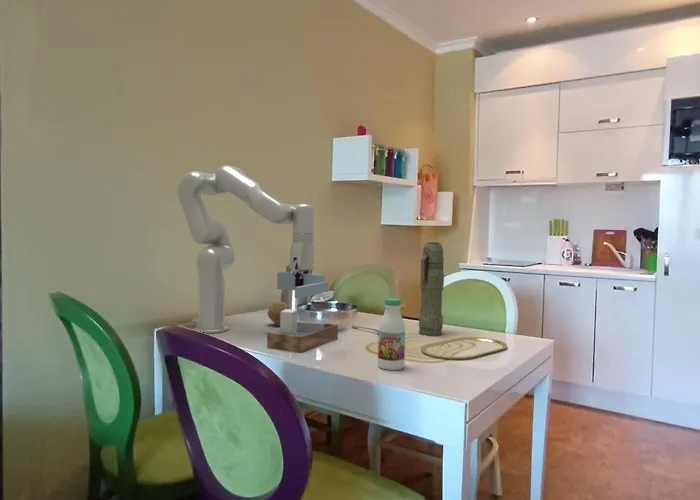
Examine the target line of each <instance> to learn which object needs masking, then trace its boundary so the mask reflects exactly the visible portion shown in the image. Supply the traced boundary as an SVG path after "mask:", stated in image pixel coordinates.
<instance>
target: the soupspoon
mask: <svg viewBox="0 0 700 500" xmlns="http://www.w3.org/2000/svg"><path fill="white" fill-rule="evenodd" d="M351 329H365V330H371V331H374V332H376V333H378V334H379V329H375V328H371V327H370V328H369V327H365V326H359V325H354V324H352V325H351Z"/></svg>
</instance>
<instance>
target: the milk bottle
mask: <svg viewBox="0 0 700 500" xmlns="http://www.w3.org/2000/svg"><path fill="white" fill-rule="evenodd" d="M401 305H402V301H401V299H400V298H396V297H395V298H394V297H393V298H392V297H388V298H385V299H384V308H385V310H384V314H383V315H382V318H381V320H380V321H379V327H378V330H379V333H378V341H377V343H378V346H377V348H378V349H377V351H378V352H377V365H378V367H379V368H380V369H383V370H388V371H389V370H390V371H399V370H402V369H404V367H405V357H406V356H405V355H406V353H405V352H406V327H405V321H404V320H403V316H402V314H401V311H400V310H401Z"/></svg>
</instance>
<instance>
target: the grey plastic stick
mask: <svg viewBox="0 0 700 500" xmlns="http://www.w3.org/2000/svg"><path fill="white" fill-rule="evenodd" d="M325 323H327V324H330V322H325ZM325 323H322V322H320V321H308V320H307V321H305V320H304V321H303V320H297V333H300V334H301V333H303V334H309V333H311V332H314V331H317V330H320V329H323V328H324V324H325Z"/></svg>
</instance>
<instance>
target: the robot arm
mask: <svg viewBox="0 0 700 500" xmlns="http://www.w3.org/2000/svg"><path fill="white" fill-rule="evenodd" d="M176 192H177V198H178V201H179V204H180V207H181V210H182V211H183V212H182V213H183V215H184V218H185V220H186V224H187V227H188V229H189V232H190V235H191V236H190V237H191V238H192V240H193V242H195V243H196V244H199V245H206V247H204V248H202V249H201V250H199V252H198V253H197V256H196V268H197V275H198V316H195V317H193V318H192V319H191V323H196V326H194V328H193V330H194V329H195V330H198V331H201V332H204V333H203V334H215V333H216V334H217V333H222V332H227V331H228V330H229V328H230V327H229V325H227V324H225V318H226V317H225V313H226V312H225V307H226V306H225V304H226V301H225V299H226V296H225V295H226V283H225V275H224V270H229V269H230V268H231V267H233V265H234V263H235V252H234V249H233V246H232V242H231V239H230V238H229V234H228V231H227V229H226V227H225V226H224V225H223V223H222V222H221V221H219V220H217V219H211V216H210V214H209V211H208V208H207V206H206V203H205V202H204V201H203V199H202V197H201V195H203V196H215V195H221V194H225V193H230V194H232V195H233V196H234V197H236V198H237V199H239V200H241V201H242V202H244V203H245V204H246V206H248V207H249V208H250V209H251V210H252V211H253V212H255V214H257V215H259V216H261V217H262V218H263V219H265V220H267V221H268V222H270V223H271V224H274V225H290V224H291V225H292V242H291V245H290V253H289V269H290V272H291V273H293V274H294V278H295V287H298V286H304V279H302V278H303V273H306V274H312V272H313V271H314V269H315V268H314V267H315V249H314V248H315V247H314V238H315V237H314V232H315V231H314V227H315V226H314V225H315V224H314V223H315V220H314V219H315V214H314V213H315V208H314V206H313V205H312V204H309V203H299V204H298V203H296V204H289V203H285V202H284V203H282V202H279V201H277V200H275V199H274V198H272V197H271V196H270V195H268V194H266V192H264V191H263V190H262V188H261V185H260V183H258V182H257V181H255V180H253V179H252V178H250V177H249V176H247V174H246V172H245V171H244V170H243V169H242V168H239V167H238V166H237V167H236V166H233V165H229V164H225V165H221V166H219V167H218V168H217V169H216V171H215V172H212V173H208V172H202V171H199V170H198V171H197V170H192V171H189V172H187V173H185V174H183V176H182V177H181V178H180V180H179V182H178V184H177V191H176ZM195 330H194V331H195ZM201 332H200V333H201Z"/></svg>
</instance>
